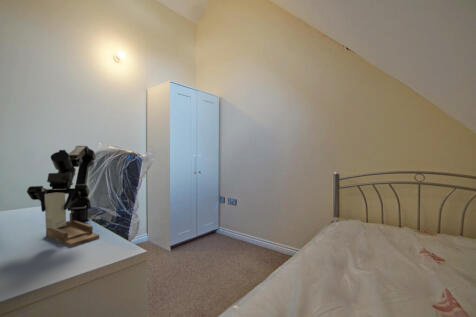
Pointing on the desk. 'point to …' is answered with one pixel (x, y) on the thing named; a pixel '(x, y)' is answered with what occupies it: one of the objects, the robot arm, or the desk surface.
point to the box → (55, 210)
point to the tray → (72, 233)
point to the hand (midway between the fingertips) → (53, 210)
